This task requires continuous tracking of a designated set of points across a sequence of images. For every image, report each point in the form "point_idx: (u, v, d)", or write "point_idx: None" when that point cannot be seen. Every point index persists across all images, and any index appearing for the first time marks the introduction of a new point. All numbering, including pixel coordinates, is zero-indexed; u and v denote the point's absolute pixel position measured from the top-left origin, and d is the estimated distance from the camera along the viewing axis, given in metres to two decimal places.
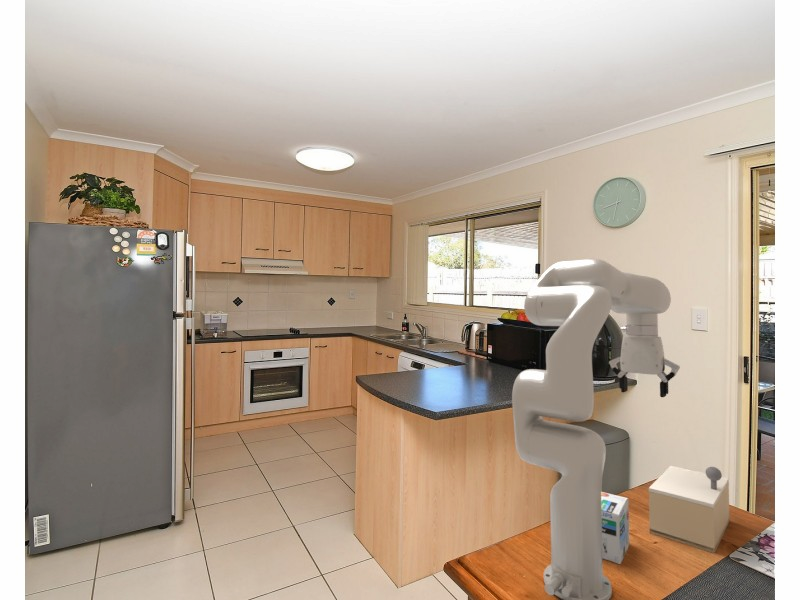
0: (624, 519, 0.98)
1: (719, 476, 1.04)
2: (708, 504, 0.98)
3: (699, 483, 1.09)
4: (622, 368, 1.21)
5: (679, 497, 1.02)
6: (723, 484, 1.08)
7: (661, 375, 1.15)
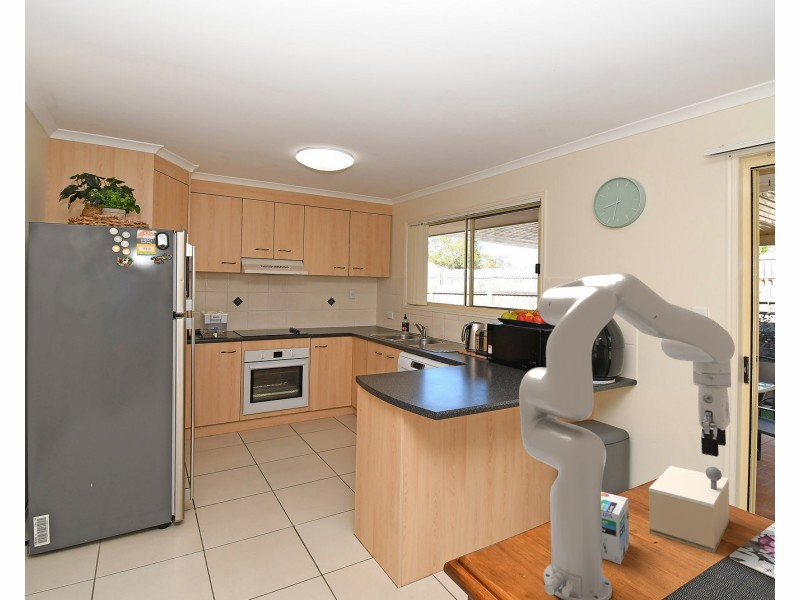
0: (624, 519, 0.98)
1: (719, 476, 1.04)
2: (708, 504, 0.98)
3: (699, 483, 1.09)
4: (723, 427, 1.01)
5: (679, 497, 1.02)
6: (723, 484, 1.08)
7: None
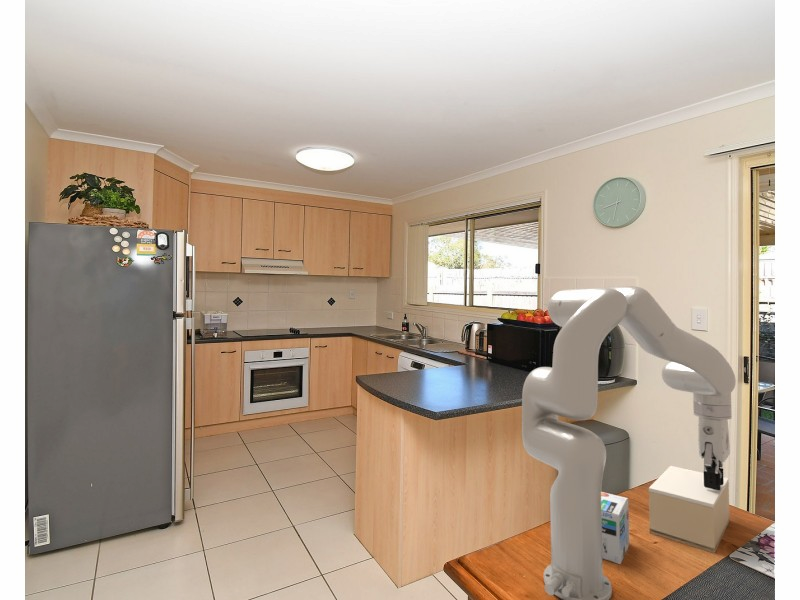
0: (624, 519, 0.98)
1: None
2: (708, 504, 0.98)
3: (699, 483, 1.09)
4: (723, 459, 1.01)
5: (679, 497, 1.02)
6: (723, 484, 1.08)
7: None
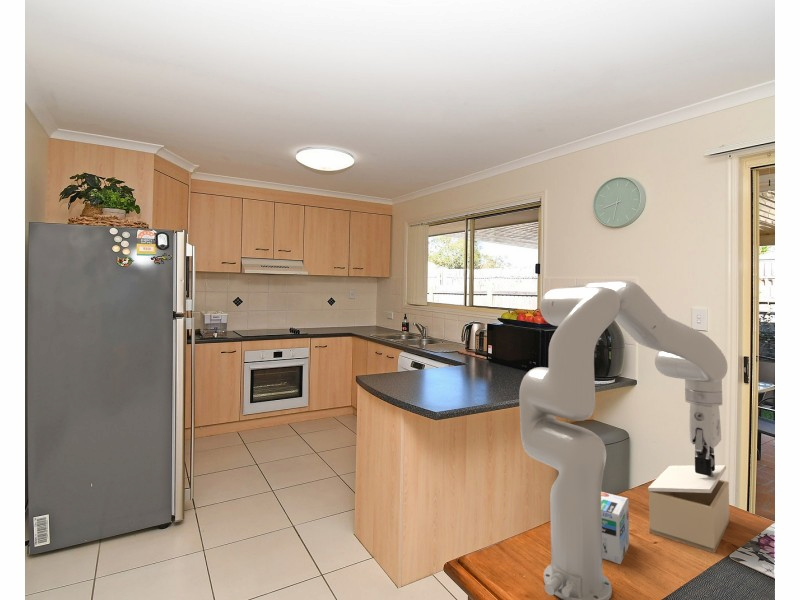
0: (624, 519, 0.98)
1: (711, 462, 1.05)
2: (705, 490, 0.99)
3: (697, 474, 1.09)
4: (713, 445, 1.02)
5: (678, 490, 1.02)
6: (720, 471, 1.09)
7: None
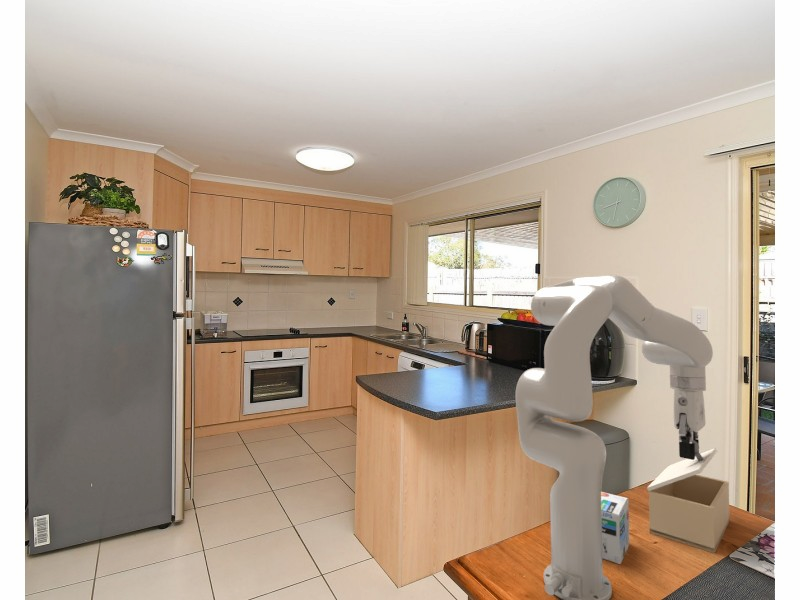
0: (624, 519, 0.98)
1: (696, 445, 1.08)
2: (695, 472, 1.00)
3: (690, 463, 1.10)
4: (696, 429, 1.05)
5: (673, 480, 1.03)
6: (710, 453, 1.10)
7: (697, 431, 1.10)
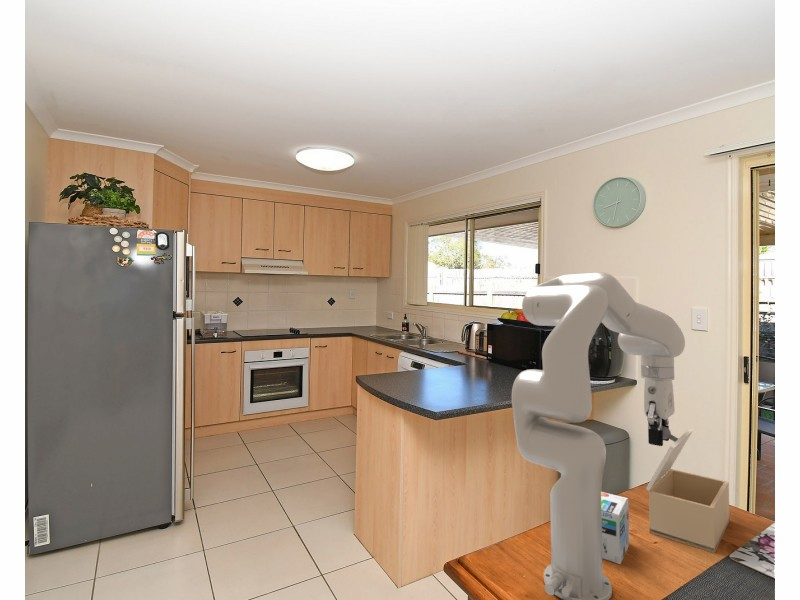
0: (624, 519, 0.98)
1: (665, 429, 1.12)
2: (670, 449, 1.04)
3: None
4: (665, 416, 1.09)
5: (660, 468, 1.05)
6: (684, 433, 1.14)
7: (667, 418, 1.16)
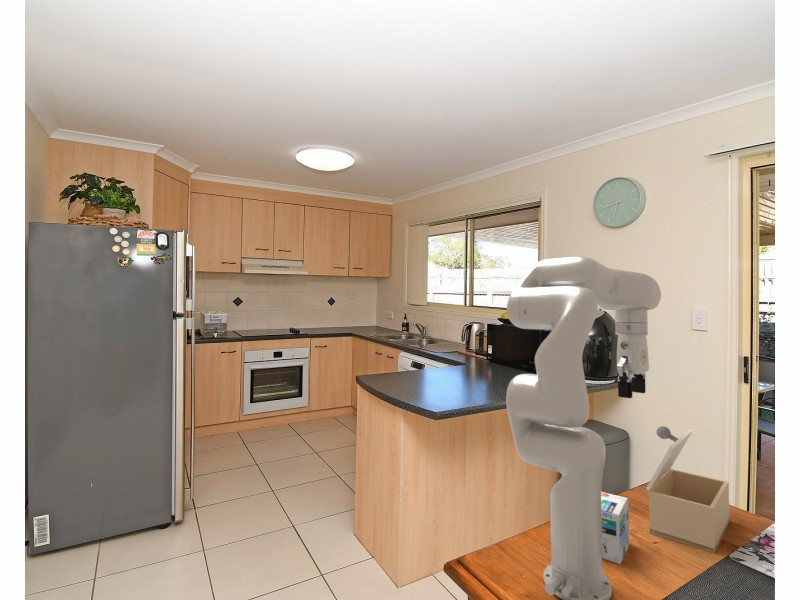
0: (624, 519, 0.98)
1: (665, 429, 1.12)
2: (670, 449, 1.04)
3: None
4: (637, 371, 1.09)
5: (660, 468, 1.05)
6: (684, 433, 1.14)
7: None
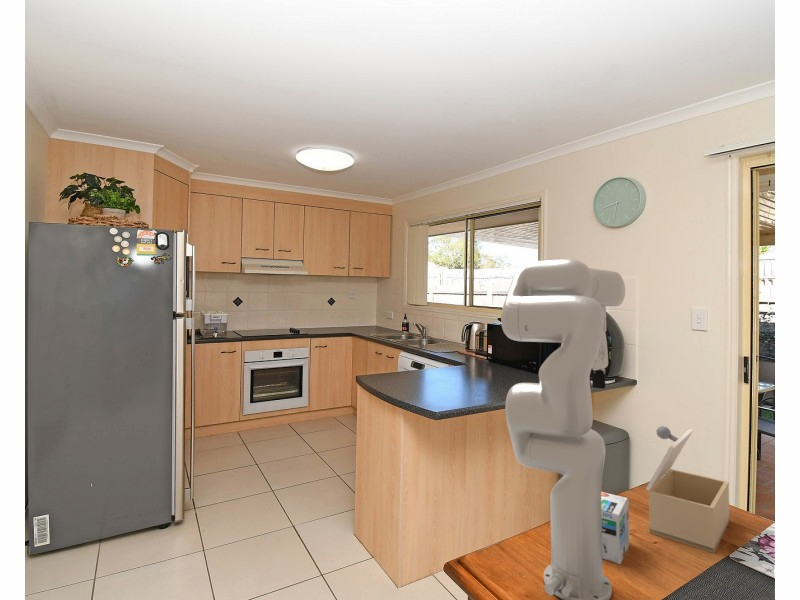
0: (624, 519, 0.98)
1: (665, 429, 1.12)
2: (670, 449, 1.04)
3: None
4: (595, 367, 1.10)
5: (660, 468, 1.05)
6: (684, 433, 1.14)
7: None
